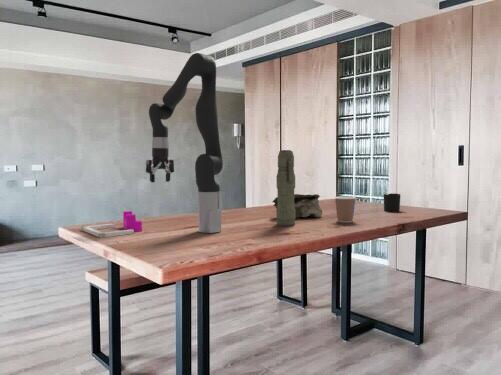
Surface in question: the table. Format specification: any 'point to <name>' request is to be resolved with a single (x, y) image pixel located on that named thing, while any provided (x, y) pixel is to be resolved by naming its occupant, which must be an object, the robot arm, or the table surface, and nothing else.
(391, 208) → the pen holder
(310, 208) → the hollow geode rock
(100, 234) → the frame
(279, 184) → the green stone statue
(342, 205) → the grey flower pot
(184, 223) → the table surface
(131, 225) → the toy block
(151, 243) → the table surface
